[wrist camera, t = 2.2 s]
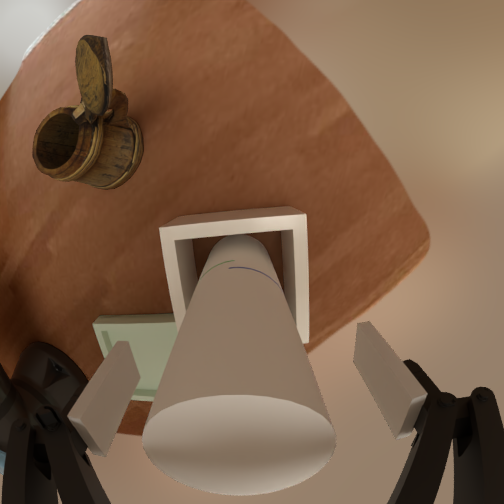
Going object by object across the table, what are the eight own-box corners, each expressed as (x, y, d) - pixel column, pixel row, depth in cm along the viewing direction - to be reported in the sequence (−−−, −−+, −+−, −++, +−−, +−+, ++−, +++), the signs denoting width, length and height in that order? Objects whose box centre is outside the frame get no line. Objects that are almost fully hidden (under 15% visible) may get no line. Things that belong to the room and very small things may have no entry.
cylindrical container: (267, 295, 33) (312, 491, 9) (206, 291, 33) (157, 487, 9) (273, 236, 32) (361, 390, 7) (209, 231, 31) (125, 380, 7)
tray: (126, 388, 36) (121, 399, 34) (100, 315, 33) (92, 323, 31) (207, 390, 37) (205, 402, 34) (190, 312, 34) (187, 321, 31)
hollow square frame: (193, 317, 34) (182, 353, 26) (178, 216, 31) (158, 227, 23) (294, 308, 34) (308, 342, 26) (289, 205, 31) (306, 214, 23)
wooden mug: (191, 136, 29) (132, 84, 11) (99, 203, 30) (-10, 229, 12) (155, 78, 27) (84, 0, 9) (69, 146, 28) (-38, 135, 10)
